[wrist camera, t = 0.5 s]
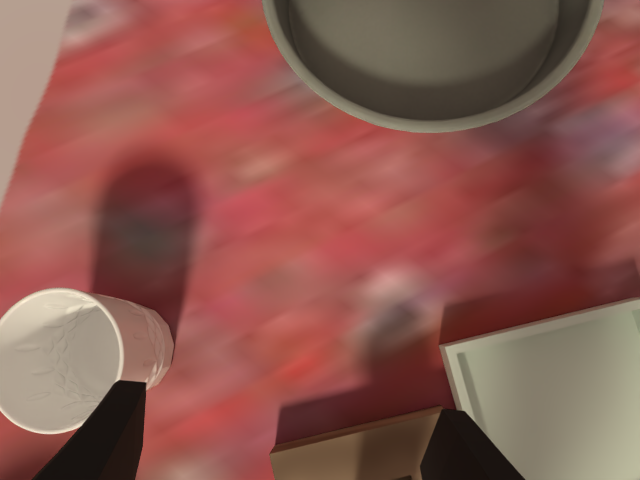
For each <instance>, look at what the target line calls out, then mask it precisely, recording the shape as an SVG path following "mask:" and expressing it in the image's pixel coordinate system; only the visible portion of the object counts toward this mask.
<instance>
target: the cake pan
mask: <svg viewBox="0 0 640 480" xmlns="http://www.w3.org/2000/svg"><path fill="white" fill-rule="evenodd" d="M603 4H604V0H262V5H263V10H264V14H265V17H266V20H267V24H268V27H269V30H270V32H271V35H272V37H273V40H274V41H275V43H276V45H277V47H278V49H279V50H280V52H281V54H282V55H283V57H284V58H285V60H286V61H287V63H288V64H289V65H290V66H291V68H292V69H293V70H294V72H295V73H296V74H297V75H298V76H299V77H300V78H301V79H302V80H303V81H304V82H305V83H306V84H307V85H308V86H309V87H310V88H311V89H312V90H313V91H314V92H316V93H317V94H318V95H319V96H320V97H322V98H324V99H325V100H326V101H328V102H329V103H331V104H332V105H333V106H335V107H337V108H339V109H340V110H342V111H344V112H346V113H348V114H350V115H352V116H354V117H357V118H359V119H361V120H364V121H366V122H369V123H372V124H374V125H377V126H381V127H385V128H390V129H395V130H401V131H408V132H420V133H423V132H425V133H441V132H453V131H460V130H466V129H471V128H476V127H480V126H483V125H487V124H490V123H493V122H497V121H499V120H502V119H504V118H507V117H509V116H511V115H513V114H515V113H517V112H519V111H521V110H523V109H525V108H527V107H528V106H530V105H532V104H533V103H534V102H536V101H537V100H539V99H540V98H542V97H543V96H544V95H546V94H547V93H548V92H549V91H550V90H551V89H553V88H554V87H555V86H556V85H557V84H558V83H560V82H561V80H562V79H563V78H564V77H565V76H566V75H567V74H568V73H569V72H570V71H571V70H572V68H573V67H574V66H575V65H576V63H577V61H578V60H579V59H580V58H581V56H582V54H583V53H584V52H585V50H586V48H587V46H588V44H589V42H590V41H591V39H592V37H593V34H594V32H595V30H596V27H597V25H598V22H599V20H600V16H601V12H602V9H603Z"/></svg>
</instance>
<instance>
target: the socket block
mask: <svg viewBox="0 0 640 480" xmlns="http://www.w3.org/2000/svg"><path fill="white" fill-rule="evenodd" d="M442 409H444V408H443V407H442V406H441V405H438V406H434V407H430V408H426V409H422V410H418V411H414V412H410V413H405V414H401V415H397V416H393V417H389V418H385V419H381V420H377V421H373V422H368V423H364V424H360V425H356V426H352V427H348V428H344V429H340V430H335V431H331V432H327V433H323V434H319V435H315V436H311V437H307V438H303V439H298V440H294V441H290V442H286V443H282V444H278V445H275V446H274V447H273V449H272V451H271V452H270V454H269V455H270V460H271V464H272V469H273V473H274V478H275V480H422V477H421V471H420V464H421V462H422V459H423V456H424V454H425V451H426V449H427V446H428V443H429V441H430V438H431V436H432V433H433V431H434V428H435V425H436V423H437V420H438V418H439V415H440V412H441V410H442Z"/></svg>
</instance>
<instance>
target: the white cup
mask: <svg viewBox="0 0 640 480" xmlns="http://www.w3.org/2000/svg"><path fill="white" fill-rule="evenodd" d="M173 349H174V343H173V339H172V336H171V332H170V329H169V325H168V324H167V323H166V322H165V321H164V320H163V319H162V317H161V316H160V315H159V314H158V313H157V312H156V311H155V310H153V309H150V308H147V307H145V306H142V305H140V304H137V303H133V302H130V301H127V300H123V299H118V298H114V297H111V296H106V295H101V294H96V293H90V292H85V291H80V290H75V289H70V288H50V289H45V290H41V291H38V292H35V293H33V294H30V295H28V296H26V297H25V298H23V299H21V300H20V301H19V302H17V303H16V304H15V305H13V306H12V307H11V308H10V309H9V310H8V311H7V312H6V313H5V314H4V316H3V317H2V318H1V320H0V411H1V412H2V413H3V414H4V415H5V416H6V417H7V418H8V419H9V420H10V421H12V422H13V423H14V424H16V425H18V426H19V427H21V428H23V429H26V430H28V431H32V432H36V433H41V434H58V433H64V432H68V431H71V430H74V429H76V428H79V427H81V426H82V424H83V423H84V422H85V421H86V419H87V418H88V417H89V416H90V415H91V413H92V412H93V411H94V410H95V408H96V407H97V406H98V405H99V403H100V402H101V401H102V399H103V398H104V397H105V395H106V394H107V393H108V391H109V390H110V388H111V387H112V385H113V384H114V383H115V382H117V381H118V380H126V381H137V382H147V384H146V391H148V390H150V389H151V388H153V387H154V386H156V385H158V384H159V383H160V381H161V380H162V378H163V377H164V375H165V374H166V372H167V371H168V369H169V368H170V366H171V361H172V355H173Z"/></svg>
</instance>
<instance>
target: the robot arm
mask: <svg viewBox="0 0 640 480" xmlns="http://www.w3.org/2000/svg"><path fill="white" fill-rule="evenodd" d="M146 384H147V382H137V381H126V380H118V381H117V382H115V383H114V384H113V385H112V387H111V388H110V390H109V391H108V393H107V394H106V395H105V397H104V398H103V399H102V401H101V402H100V403H99V405H98V406H97V407H96V408H95V410H94V411H93V412H92V413H91V415H90V416H89V417H88V418H87V419H86V421H85V422H84V423H83V424H82V426H81V427H80V428H79V429H78V430H77V431H76V432H75V434H74V435H73V436H72V437H71V438H70V439H69V440H68V442H67V443H66V444H65V445H64V446H63V447H62V448H61V449H60V451H59V452H58V453H57V454H56V455H55V456H54V457H53V458H52V459H51V460H50V461H49V462H48V463H47V464H46V465H45V466H44V467H43V468H42V469H41V470H40V471H39V472H38V473H37V475H36V476H35V477H34V478H33V479H32V480H135V477H136V473H137V468H138V464H139V460H140V456H141V451H142V447H143V432H144V416H145V400H146ZM420 471H421V477H422V480H525V478H524V477H523V476H522V475H521V474H520V473H519V472H518V471H517V470H516V469H515V467H514V466H513V465H512V464H511V463H510V462H509V461H508V460H507V458H506V457H505V456H504V455H503V454H502V453H501V452H500V450H499V449H498V448H497V447H496V446H495V445H494V443H493V442H492V441H491V440H490V439H489V438H488V437H487V435H486V434H485V433H484V432H483V431H482V430H481V428H480V427H479V426H478V425H477V424H476V423H475V422H474V420H473V419H472V418H471V417H470V416H469V415H468V414H467V413H466V412H465V411H461V410H450V409H442V410H441V412H440V415H439V418H438V420H437V423H436V425H435V428H434V431H433V433H432V436H431V438H430V441H429V443H428V446H427V449H426V451H425V454H424V456H423V459H422V462H421V464H420Z"/></svg>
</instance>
